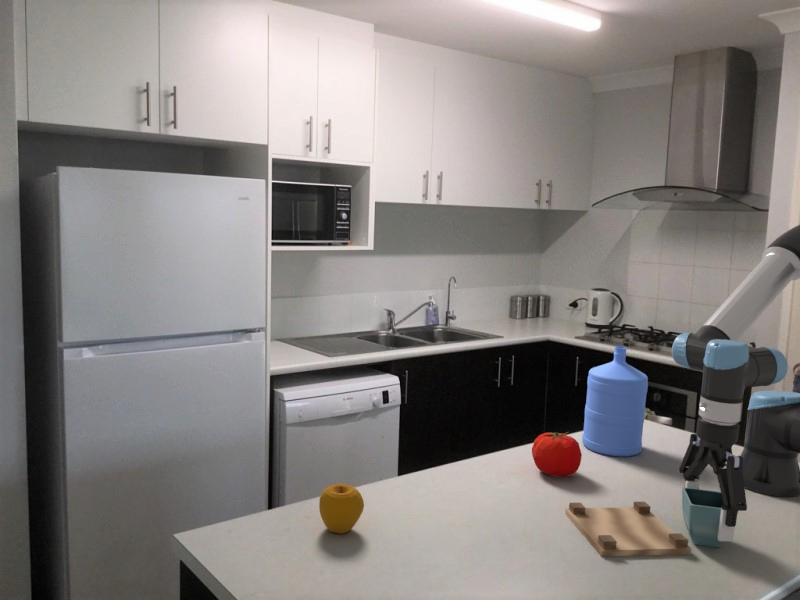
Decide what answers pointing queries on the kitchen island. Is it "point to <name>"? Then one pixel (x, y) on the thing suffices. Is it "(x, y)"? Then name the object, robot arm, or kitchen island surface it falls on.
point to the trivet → (626, 531)
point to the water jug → (615, 407)
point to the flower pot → (702, 515)
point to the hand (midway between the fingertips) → (706, 525)
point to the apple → (340, 507)
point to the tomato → (556, 454)
